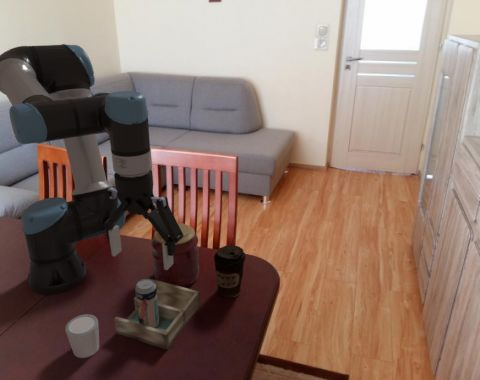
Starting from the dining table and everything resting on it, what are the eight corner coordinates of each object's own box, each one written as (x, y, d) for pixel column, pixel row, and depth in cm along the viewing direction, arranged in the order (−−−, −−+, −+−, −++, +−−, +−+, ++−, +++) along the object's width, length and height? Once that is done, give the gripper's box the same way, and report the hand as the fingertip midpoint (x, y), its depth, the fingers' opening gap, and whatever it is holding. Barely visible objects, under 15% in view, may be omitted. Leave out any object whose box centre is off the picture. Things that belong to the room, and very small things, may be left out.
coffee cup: (241, 303, 106) (241, 262, 100) (210, 299, 107) (209, 258, 102) (247, 283, 114) (248, 244, 108) (219, 280, 115) (218, 241, 110)
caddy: (116, 333, 96) (114, 318, 94) (154, 292, 110) (152, 279, 108) (167, 350, 91) (166, 334, 89) (199, 305, 105) (199, 291, 103)
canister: (206, 267, 121) (204, 215, 114) (189, 293, 110) (186, 237, 102) (166, 260, 124) (162, 209, 117) (146, 284, 113) (140, 230, 106)
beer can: (136, 321, 98) (132, 281, 93) (155, 315, 100) (152, 275, 95) (142, 334, 94) (137, 292, 89) (161, 327, 96) (158, 286, 91)
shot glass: (75, 338, 94) (70, 314, 91) (105, 336, 95) (101, 313, 92) (66, 361, 88) (60, 336, 85) (98, 359, 88) (93, 335, 86)
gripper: (70, 168, 81) (85, 256, 90) (178, 187, 73) (183, 282, 82) (95, 157, 88) (107, 240, 97) (197, 173, 80) (200, 262, 88)
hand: (142, 259), depth 89 cm, fingers open, 13 cm apart
